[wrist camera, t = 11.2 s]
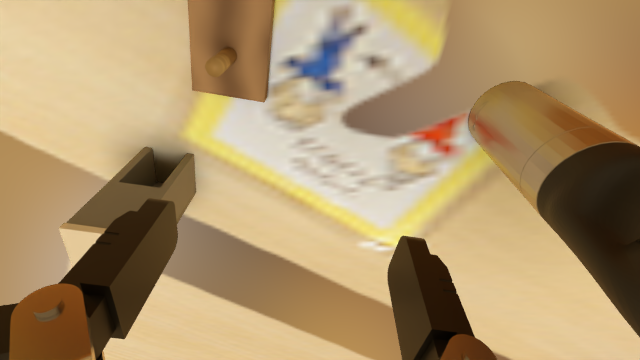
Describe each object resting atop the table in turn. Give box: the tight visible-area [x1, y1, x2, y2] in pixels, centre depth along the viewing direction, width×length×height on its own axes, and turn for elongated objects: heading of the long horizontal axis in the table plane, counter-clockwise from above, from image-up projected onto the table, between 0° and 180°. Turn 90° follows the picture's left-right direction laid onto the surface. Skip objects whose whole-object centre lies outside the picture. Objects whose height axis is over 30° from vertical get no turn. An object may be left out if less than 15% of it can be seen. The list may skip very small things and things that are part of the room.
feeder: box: [59, 147, 196, 267], centre depth 42 cm, size 7×7×18 cm
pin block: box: [188, 0, 275, 102], centre depth 33 cm, size 9×20×8 cm, turn 171°
